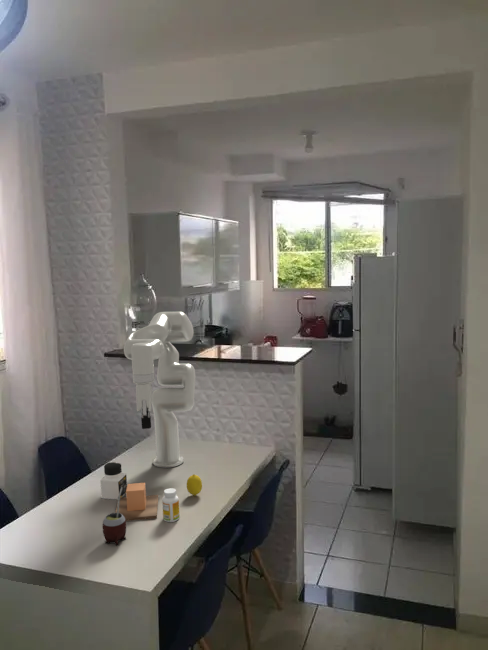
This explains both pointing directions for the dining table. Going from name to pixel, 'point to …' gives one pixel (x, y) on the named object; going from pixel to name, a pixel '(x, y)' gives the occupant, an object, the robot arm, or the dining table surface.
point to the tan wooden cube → (136, 496)
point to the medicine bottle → (113, 481)
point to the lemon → (194, 484)
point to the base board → (148, 513)
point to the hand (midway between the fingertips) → (146, 427)
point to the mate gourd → (114, 526)
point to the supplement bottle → (170, 505)
